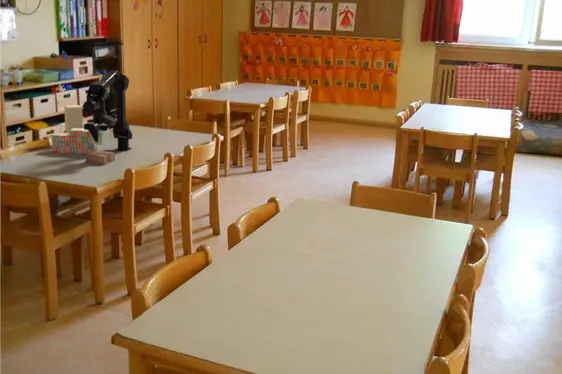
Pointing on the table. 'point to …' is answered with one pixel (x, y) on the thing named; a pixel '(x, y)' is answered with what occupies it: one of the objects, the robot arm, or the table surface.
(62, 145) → the stack of blocks
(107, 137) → the green cube
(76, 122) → the beige wooden block
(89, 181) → the table surface
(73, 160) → the table surface
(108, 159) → the walnut base
